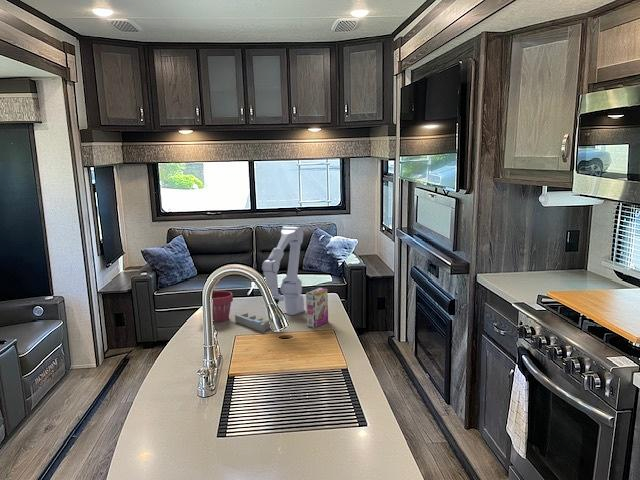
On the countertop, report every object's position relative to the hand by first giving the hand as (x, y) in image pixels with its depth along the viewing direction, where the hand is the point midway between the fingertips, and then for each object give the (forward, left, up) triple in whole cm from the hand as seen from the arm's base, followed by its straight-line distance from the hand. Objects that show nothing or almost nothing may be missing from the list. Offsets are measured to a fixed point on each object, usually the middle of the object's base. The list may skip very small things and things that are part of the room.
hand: (273, 312), depth 226 cm
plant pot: (+13, -27, -6) cm, 31 cm away
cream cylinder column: (+2, 0, -6) cm, 6 cm away
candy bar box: (-13, +17, -6) cm, 22 cm away
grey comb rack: (+7, -6, -6) cm, 11 cm away
